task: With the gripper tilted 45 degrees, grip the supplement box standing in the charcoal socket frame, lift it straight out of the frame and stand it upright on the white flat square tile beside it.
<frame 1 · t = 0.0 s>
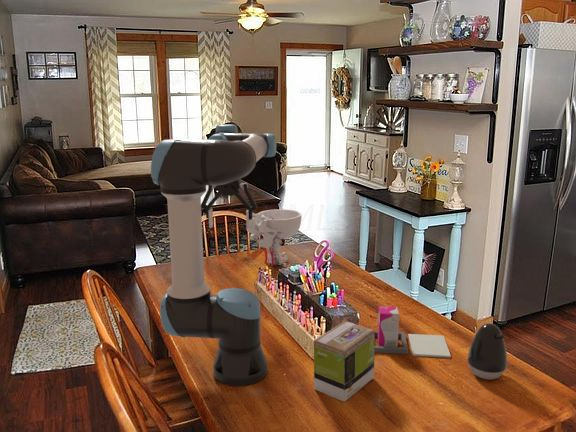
hand: (229, 227, 191), 28 cm above the table, tool pointing down, fingers open, 13 cm apart
white sculpted pedestal bowl: (274, 265, 236), on the table
tea box: (344, 384, 143), on the table
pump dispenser: (485, 375, 147), on the table
supplement box: (387, 344, 165), resting in socket frame
white flat square tile: (428, 346, 163), on the table
socket frame: (387, 344, 165), on the table
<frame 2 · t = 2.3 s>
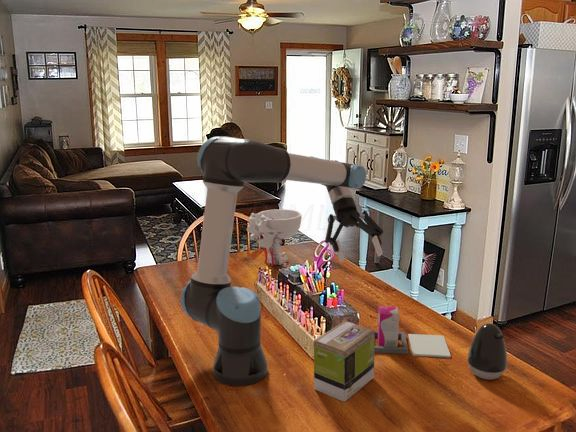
hand: (361, 257, 171), 24 cm above the table, tool tilted 45°, fingers open, 13 cm apart
nothing on the table moved.
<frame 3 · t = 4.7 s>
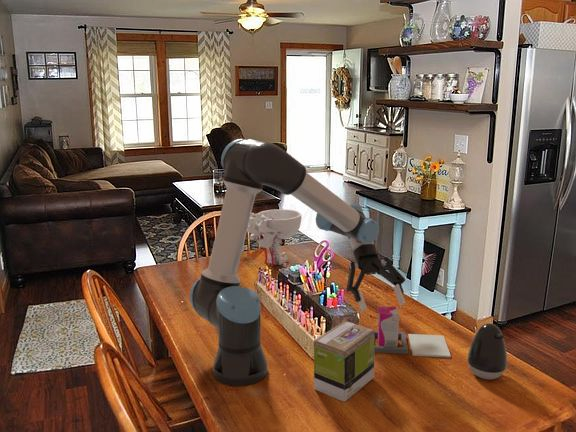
hand: (383, 307, 167), 10 cm above the table, tool tilted 45°, fingers open, 13 cm apart
nothing on the table moved.
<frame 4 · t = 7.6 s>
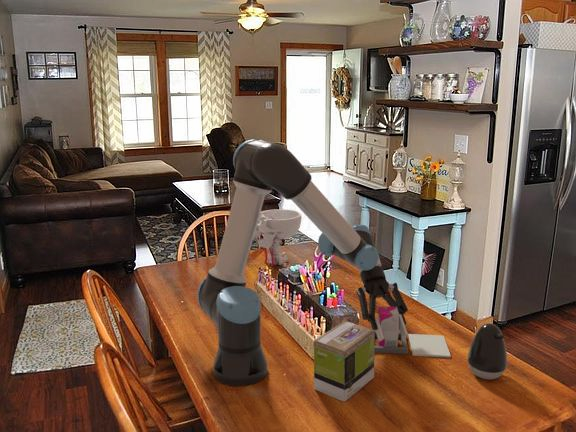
hand: (393, 337, 161), 4 cm above the table, tool tilted 45°, fingers closed on supplement box, 7 cm apart
supplement box: (387, 344, 165), resting in socket frame, touching gripper
everything else where it was.
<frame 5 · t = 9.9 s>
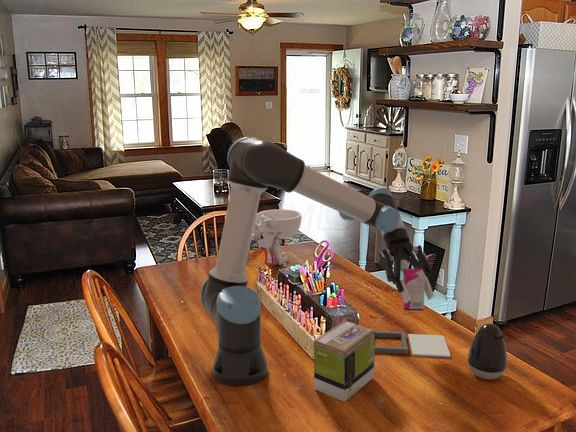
hand: (419, 299, 157), 16 cm above the table, tool tilted 45°, fingers closed on supplement box, 7 cm apart
supplement box: (412, 307, 162), point 12 cm above the table, touching gripper
everything else where it was.
when the fingers open (6 cm above the table, at t = 12.6 s): supplement box drops 1 cm, resting on white flat square tile.
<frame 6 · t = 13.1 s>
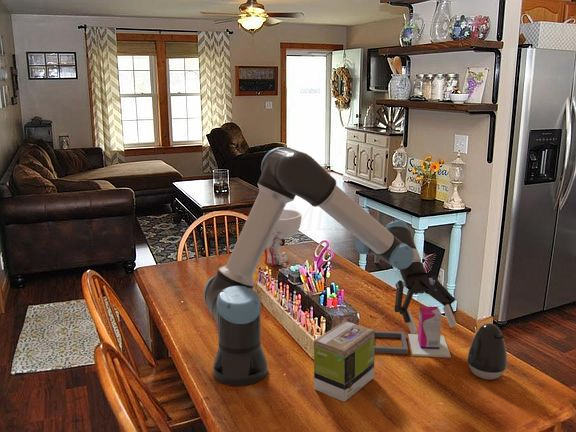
hand: (434, 329, 159), 7 cm above the table, tool tilted 45°, fingers open, 13 cm apart
supplement box: (428, 344, 163), resting on white flat square tile
everything else where it was.
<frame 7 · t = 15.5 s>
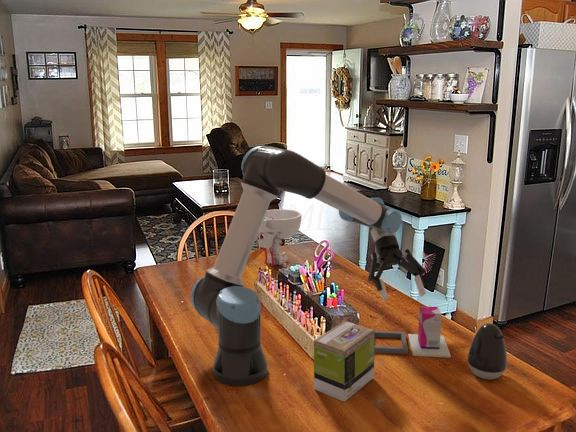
hand: (404, 297, 171), 12 cm above the table, tool tilted 45°, fingers open, 13 cm apart
nothing on the table moved.
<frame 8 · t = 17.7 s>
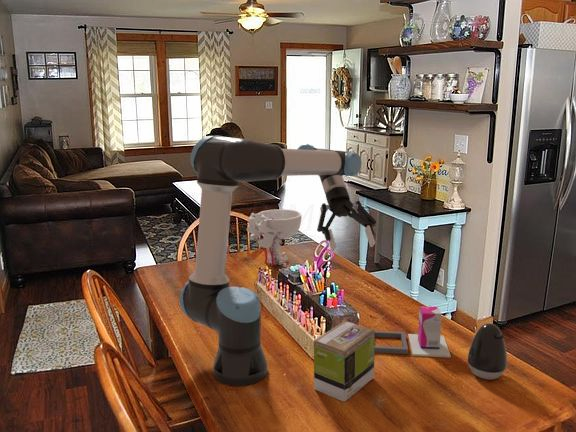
hand: (353, 247, 170), 28 cm above the table, tool tilted 45°, fingers open, 13 cm apart
nothing on the table moved.
at the end: supplement box inside the target area on the white flat square tile (0.1 cm from its centre), point 0.4 cm above the white flat square tile's base; supplement box tilted 0°; the gripper is holding nothing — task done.
